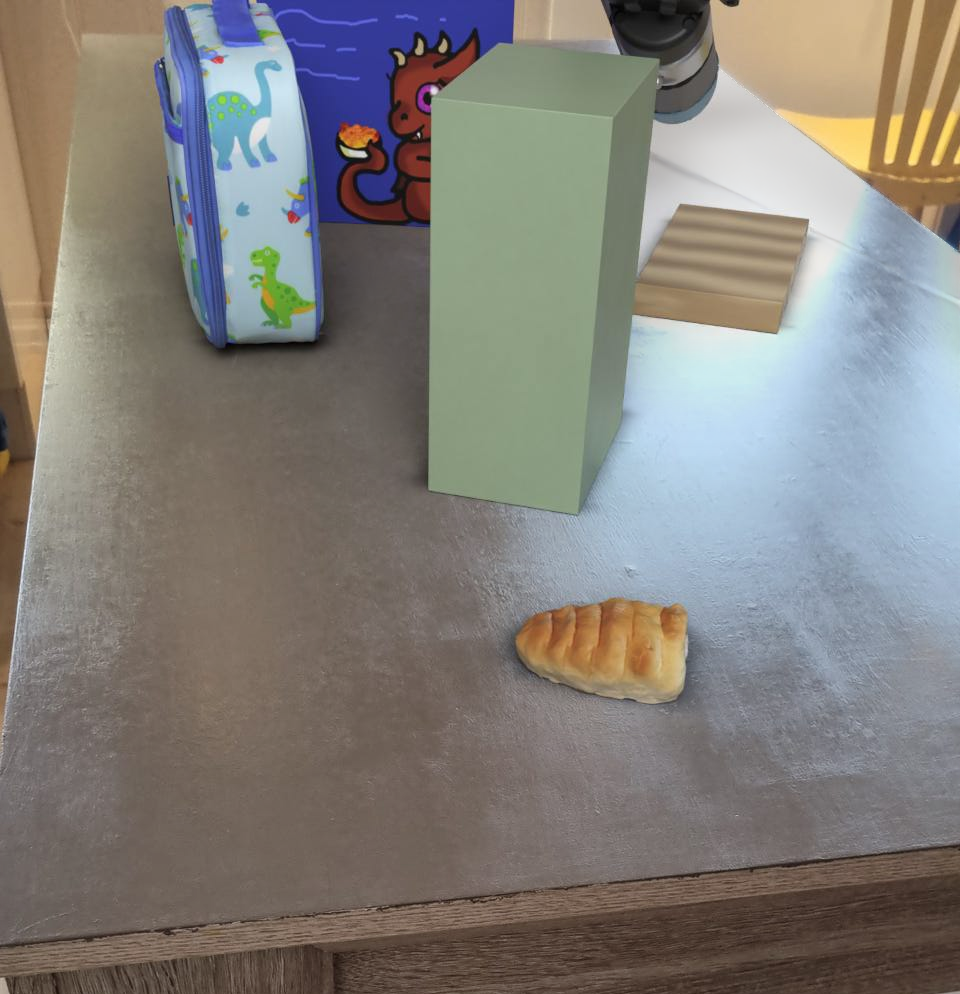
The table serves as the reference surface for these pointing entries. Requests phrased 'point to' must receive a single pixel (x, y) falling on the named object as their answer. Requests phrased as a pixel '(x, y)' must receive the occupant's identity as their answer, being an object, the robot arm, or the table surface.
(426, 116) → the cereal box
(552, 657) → the pastry
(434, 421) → the plinth
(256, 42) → the lunch box
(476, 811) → the table surface
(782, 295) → the maple board
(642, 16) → the robot arm
